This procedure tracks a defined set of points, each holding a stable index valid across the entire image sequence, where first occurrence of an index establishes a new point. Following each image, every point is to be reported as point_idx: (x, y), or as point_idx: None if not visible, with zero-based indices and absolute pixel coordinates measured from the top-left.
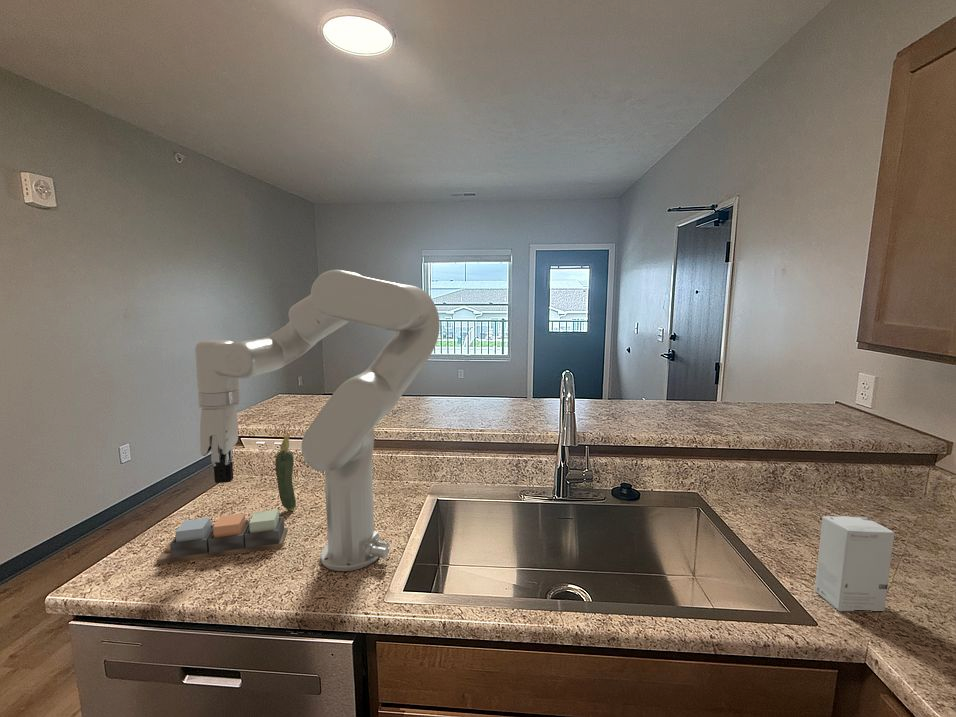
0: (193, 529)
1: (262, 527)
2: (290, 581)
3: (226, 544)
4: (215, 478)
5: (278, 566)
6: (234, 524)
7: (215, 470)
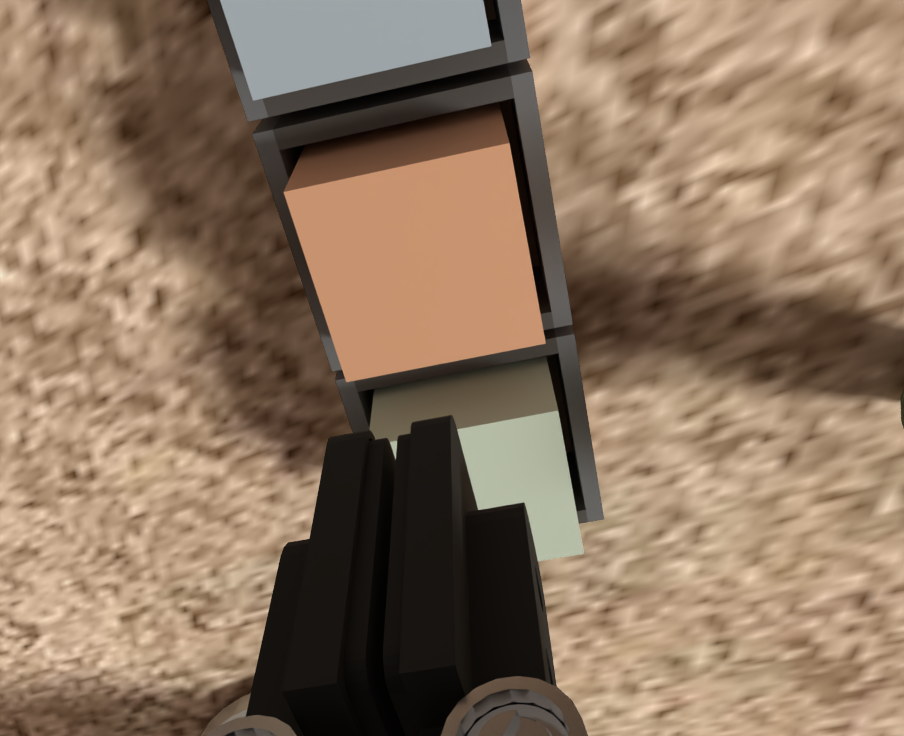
0: (227, 15)
1: None
2: (103, 615)
3: None
4: (329, 486)
5: (215, 532)
6: (338, 351)
7: (312, 608)
